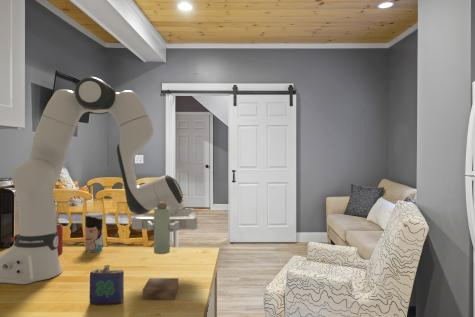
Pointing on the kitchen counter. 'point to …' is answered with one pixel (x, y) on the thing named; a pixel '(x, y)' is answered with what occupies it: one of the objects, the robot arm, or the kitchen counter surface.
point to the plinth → (160, 289)
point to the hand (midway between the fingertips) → (161, 227)
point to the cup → (93, 231)
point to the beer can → (59, 238)
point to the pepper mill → (161, 229)
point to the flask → (106, 286)
